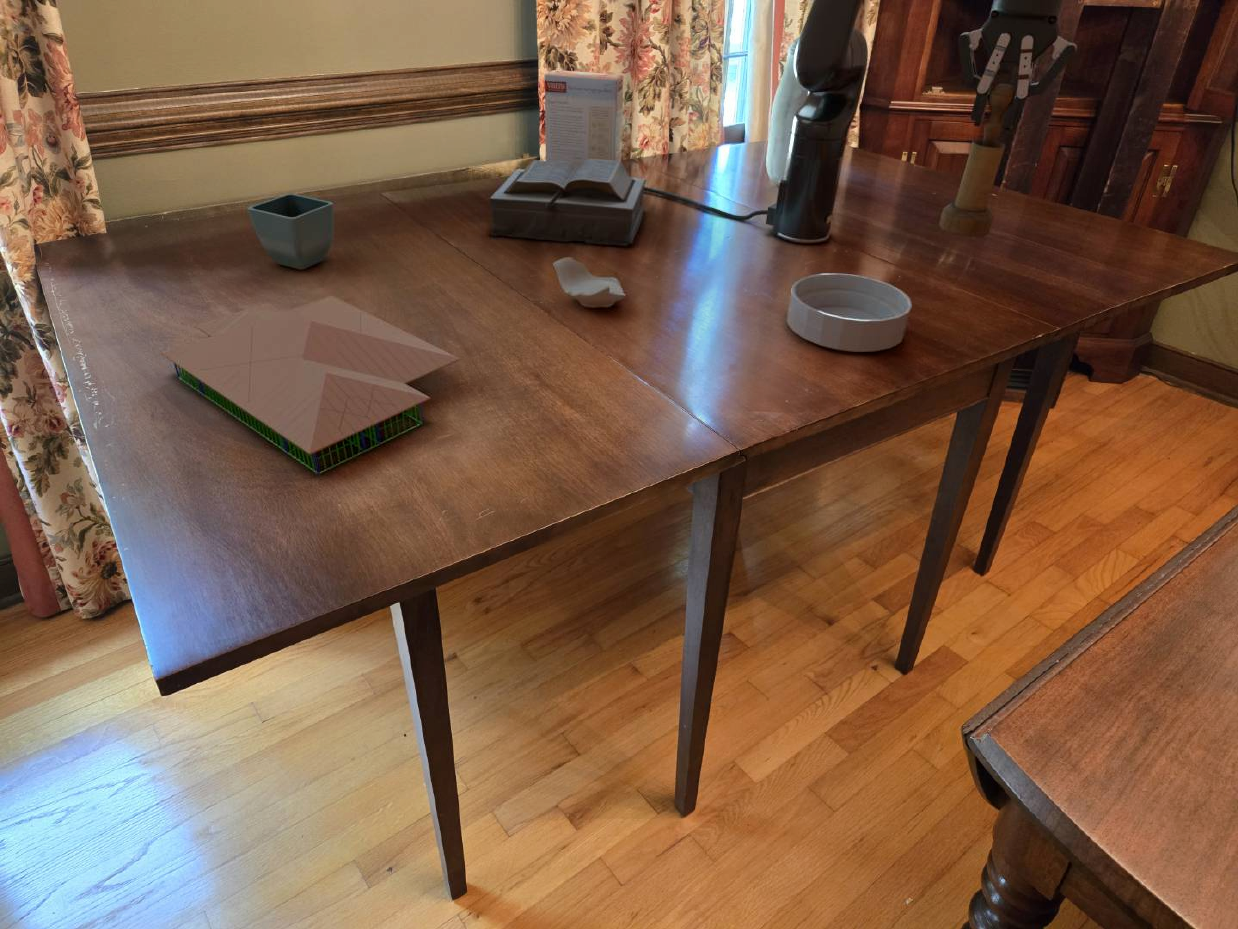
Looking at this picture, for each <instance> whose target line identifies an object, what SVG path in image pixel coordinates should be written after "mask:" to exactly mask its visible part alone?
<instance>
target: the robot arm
mask: <svg viewBox="0 0 1238 929" xmlns="http://www.w3.org/2000/svg"><path fill="white" fill-rule="evenodd" d="M863 2H864V0H813V2H812V5H811V8H810V10H809V12H808V15H807V17H806V20H805V23H804V24H803V28H802V30H801V32H800V35H799V37H800V38H799V40H798V43H797V46H796V49H795V54H794V62H793V67H794V74H795V77H796V80H797V81H798V83H799V85H800V86H801V87H802V88H803V89H805V90H806V91H808V94H807V97H806V99H805V101H804V103H803V104H802V106H801V107H800V108H799V109H798V111H797V112H796V113H795V115H794V117H793V121H792V127H791V134H790V141H789V148H788V154H787V161H786V168H785V174H784V178H782V179H781V180H780V183H779V185H778V190H777V196H776V197H777V198H776V203H773V204H771V205H769V206H768V207H767V209H761V210H755V211H752V212H750V213H749V214H745V215H736V214H733V213H729V212H726V211H723V210H721V209H718V208H715V207H712V206H709V205H706V204H703V203H700V202H698V201H695V200H693V199H691V198H687V197H684V196H682V195H678V194H675V193H671V192H669V191H665V190H661V189H656V188H653V187H648V186H644V192H649V193H652V194H657V195H660V196H664V197H668V198H671V199H675V200H677V201H681V202H684V203H687V204H690V205H692V206H695V207H697V208H699V209H702V210H704V211H708V212H711V213H713V214H716V215H719V216H722V217H725V218H728V219H732V220H737V221H748V220H750V219H752V218H754V217H756V216H762V215H763V216H764V215H766V217H765V225H769V226H772V231H771V236H777V237H778V238H780V239H783V240H785V241H788V242H791V243H796V244H805V245H814V244H821V243H824V242H826V241H828V240H829V238H830V230H831V224H832V221H834V219H835V213H834V210H835V205H836V204H835V203H836V199H837V198H836V197H837V193H838V187H839V182H840V176H841V172H842V171H841V170H842V166H843V160H844V155H845V150H846V144H847V139H848V134H849V131H850V130H849V129H850V127H851V124H852V122H853V121H854V119H855V116H856V114H857V111H858V107H859V104H860V98H861V94H862V91H863V90H862V89H863V85H864V81H865V78H866V77H865V76H866V72H867V66H868V58H869V48H868V42H867V40H866V37H865V35H864V34H863V32H862V31H861V30H860V28H858V27H857V26H856V21H857V18H858V16H859V12H860V10H861V6H862V4H863ZM1064 3H1065V0H993V1H992V5H991V9H990V13H989V16H988V17H987V19H986V21H985V22H984V23H983V25H982V27H981V28H979V29H976V30H973V31H970V32H968V31H965V32H962V34H960V35H959V36H958V37H957V47H958V54H959V61H960V66H961V68H960V69H961V72H962V74H961V75H962V80H963V85H964V86H966V87H970V88H971V89H972V90H974V91H975V94H976V95H975V98H974V103H973V106H972V110H971V113H970V119H971V120H970V121H973V122H974V123H973V126H974V127H981V126H982V124H983V121H984V118H985V114H986V111H987V107H988V104H989V102H988V96H989V93H990V90H991V86H992V84H993V81H994V79H995V77H996V75H997V73H998V71H999V69H1000V67H1001V66H1005V65H1012V66H1014V67H1017V68H1018V73H1017V74H1018V75H1017V87H1016V94H1015V97H1014V99H1013V102H1012V104H1011V105H1010V110H1009V113H1008V117H1007V120H1006V123H1005V125H1004V131H1010V132H1011V131H1012V129H1013V127H1017V126H1018V124H1019V123H1020V122H1021V119H1022V117H1023V113H1024V110H1025V107H1026V103H1027V100H1028V99H1029V98H1030V97H1034V96H1041V95H1043V94H1044V93H1045V92H1046V91H1047V90H1048V88H1049V87H1050V85H1051V84H1052V83H1053V81H1055V79H1056V78H1057V76H1058V75H1059V74H1060V72H1062V70H1063V69H1064V68H1065V66H1066V65H1067V64H1068V63H1069V61H1070V60H1071V59H1072V58H1073V56H1074V55H1075V53H1076V52H1077V50H1078V45H1077V44H1076V43H1075V42H1069V41H1067V40H1066V39H1064V38H1063V37H1061V36H1060V28H1059V19H1060V17H1061V14H1062V10H1063V7H1064ZM980 39H982V41H983V43H984V45H985V48H986V51H987V53H988V56H989V60H988V62H987V65H986V66H985V69H984V72H983V74H982V77H981V76H979V75H978V73H977V67H976V61H975V54H974V51H975V50H977V49H978V47H979V42H980ZM1051 46H1053V47H1054V50H1053V52H1052V54H1051V57H1052V59H1053V60H1054V61H1053V63H1052V64H1051V65H1050V66H1049V68H1048V69H1047V70H1046V72H1045V73H1044V74H1043V76H1042V77H1041V78H1040V79H1039V81H1038V82H1034V83H1031V82H1032V74H1033V68H1034V62H1035V61H1036V60H1037V59H1038V58H1040V57H1041V55H1043V54H1044V53H1045V52H1046V51H1047V50H1048V49H1049V48H1051Z"/></svg>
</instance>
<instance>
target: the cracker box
mask: <svg viewBox="0 0 1238 929" xmlns="http://www.w3.org/2000/svg"><path fill="white" fill-rule="evenodd" d="M623 102H624V75H622V74H610V73H600V72H599V73H598V72H587V71H577V70H575V71H574V70H557V69H552V70H551V71H549V72H548V73H546V74H544V126H545V127H544V132H545V133H544V134H545V135H544V136H545V161H568V162H571V163H573V164H574V165H575V166H579V165H580V164H581V163H582V162H583V161H585V160H588V159H600V160H609V161H620V162H621V163H622V138H623V137H622V134H623V110H624V108H623V106H624V105H623V104H624V103H623Z"/></svg>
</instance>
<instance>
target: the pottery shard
mask: <svg viewBox="0 0 1238 929" xmlns="http://www.w3.org/2000/svg"><path fill="white" fill-rule="evenodd" d="M552 266H553V267H554V269H555V271H556V274H557V277H558V281H559V285H560V286H561V288H562V290H563V291H564V293H566V295H568V296H569V297H570V298H571V299H574V300H576V301H578V303H579V304H580V305H581V306H582V307H585V308H593V309H595V308H610V307H612V306H613V305H614V304H615V302H618V301H621V300H622V299H624V298H626V297H627V295H626V293H624V290H623V288H622V285H621V284H620V281H619V280H618V279H617V278H616V277H613V276H607V277H606V276H605V277H602V276H596V275H593V274H591V273H590V271H589V270H588V269H587V267H586V265H584V264H583V263H580V262H579V261H577V260H575V259H574V258H573V257H570V256H568V257H563V258H561V259H558V260H555V261H554V262H553V263H552Z"/></svg>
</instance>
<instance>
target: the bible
mask: <svg viewBox="0 0 1238 929" xmlns="http://www.w3.org/2000/svg"><path fill="white" fill-rule="evenodd" d="M646 182H647V180H646V178H639V177H631V176H630V175H629V173H628V171H627V170H626V168H625V166H624V164H623V162H622V161H621V162H620V161H609V160H600V159H588V160H585V161H583V162H582V163H581V164H580V165H579V166H575V165H574V164H573V163H571V162H568V161H546V160H539V159H538V160H537V159H533V160H532V161H531V162H530V163H529V164H527V166H526V167H525V169H521V168H516V169H515V170H514V171H513V172H512V173H511V175H509V177H508V178H507V179H506V180H505V181H504V182H503V183H502V184H501V185H500V186H499V188H498V189H497V190H495V192H494V193H493V194H492V195H491V196H490V197H489V202H490V209H491V214H492V220H493V222H492V226H491V236H492V237H497V236H501V237H510V238H520V239H521V238H522V239H530V240H533V239H535V240H538V241H543V240H546V241H552V242H556V241H557V242H565V243H566V242H573V241H577V242H584V243H585V244H592V245H593V244H594V245H603V246H604V245H605V246H607V245H608V246H614V245H616V246H619V247H621V246H622V247H628V245H631V244H633V242H634V240H635V238H636V237H635V236H636V234H637V233H638V230H639V229H640V225H641V222H642V220H643V215H644V214H643V213H644V202H643V200H644V193H645V191H644V187H645V185H646Z"/></svg>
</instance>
